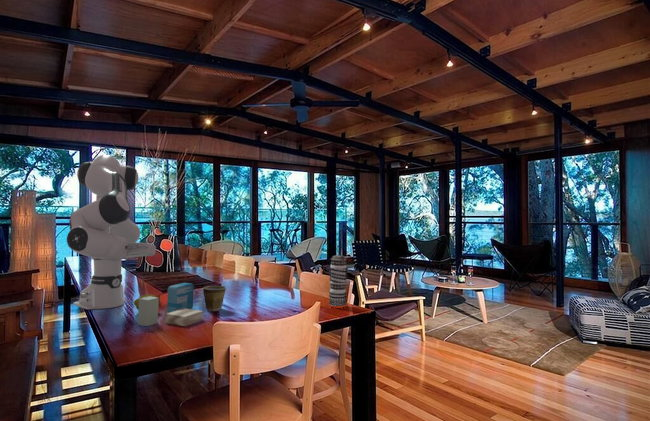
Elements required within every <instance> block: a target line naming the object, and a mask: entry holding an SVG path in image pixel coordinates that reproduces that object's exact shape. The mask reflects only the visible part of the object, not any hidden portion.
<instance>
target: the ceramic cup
mask: <svg viewBox="0 0 650 421" xmlns="http://www.w3.org/2000/svg"><path fill="white" fill-rule="evenodd" d="M202 291H203V292H202V293H203V297H204V306H205V310H206V309H207V310H206V311H209V312H218V311H220V310H222V308H223V304H224V303H223V302H224V297H225V293H226V286H224V285H207V286H204V287H203V288H202Z"/></svg>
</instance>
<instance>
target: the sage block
mask: <svg viewBox="0 0 650 421" xmlns="http://www.w3.org/2000/svg"><path fill="white" fill-rule="evenodd" d="M158 303H159V304H160V299H159V297H157V296H156V297H151V296H149V297H144V298H140V299H139V309H137V311H138V314H137V316H138V317H137V325H139V326H144V327H149V326H152V325H155V324H158V323H159V307H158Z"/></svg>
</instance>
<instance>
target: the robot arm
mask: <svg viewBox="0 0 650 421" xmlns="http://www.w3.org/2000/svg"><path fill="white" fill-rule="evenodd" d="M76 176H77V180H78V183H79V184H80V185H81V186H82V187H86V188H87V190H89V191H90V192H91V193H93V194H94V195H96V199H95V201H92V202H90V203H88V204H87V205H84V206H82V207H80V208H78V209H77V210H75V211H73V212H71V214H70V216H69V220H68V221H69V222H68V223H69V232H68V233H67V236H66V243H67V246H68V248H69V249H71V250H72V251H73V252H75V253H77V254H79V255H82V256H85V257H90V259H91V260H92V261H93V275H92V276H90V277H89V280H90V284H88V285H87V286H86V287H85V288H84V289H82V290H81V291H80V293H79V300H77V301H74V302H72V305H73V306H75V307H79V308H81V309H84V310H97V309H101V310H102V309H103V310H104V309H111V308H116V307H121V306H123V305H125V302H126V299H125V298H124V286H123V284H122V282H123V274H122V266H123V265H122V261H123V259H130V258H137V257H138V258H139V257H153V256H155V254H156V250H157V246H156V245H155V244H152V243H147V242H138V241H139V240H140V237H141V229H140V227H139V226H138V224H136V223H135V222H133V221H132V220H131V219H130V218H129V217H130V213H131V208H130V204H129V202H128V191H132V190H134V189H136V186H137V185H138V183H139V173H138V171H137V169H136V167H134V166H131V165H124V164H121V163H120V161H119V160H118V159H117V158H116V157H115V156H113V155H110V154H102V155H98V156H97V157H96V158H95V159H93V161H85V162H83V163H81V164H80V165H79V167H78V168H77V173H76Z"/></svg>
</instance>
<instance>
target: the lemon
mask: <svg viewBox="0 0 650 421" xmlns="http://www.w3.org/2000/svg"><path fill="white" fill-rule="evenodd" d="M149 296H151V297H157V296H155V295H153V294H144V295H141V296H139V297H138V298H137V299H135V300H134V301H133V304H134V306H135V307H136V309H137V310H138V309H139V299H140V298H144V297H149ZM158 308H160V302H159V303H158Z"/></svg>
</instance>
